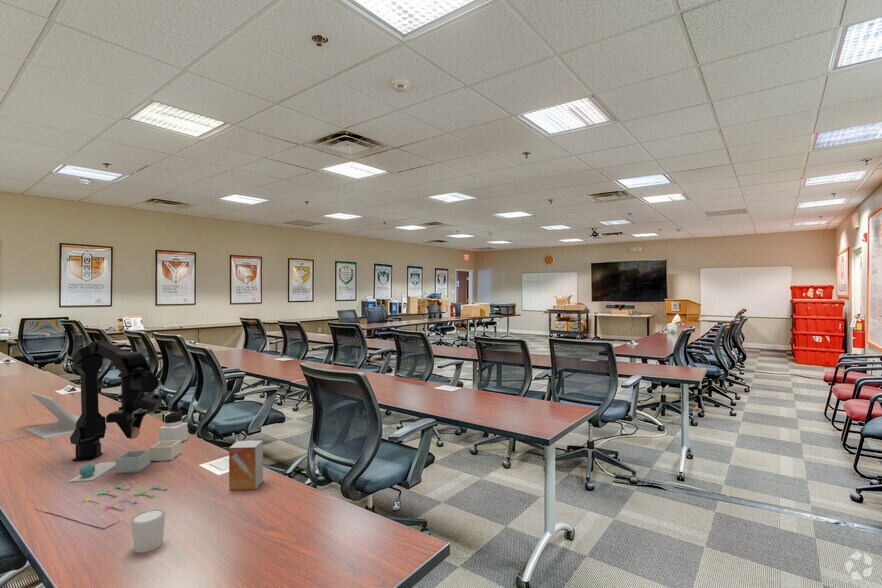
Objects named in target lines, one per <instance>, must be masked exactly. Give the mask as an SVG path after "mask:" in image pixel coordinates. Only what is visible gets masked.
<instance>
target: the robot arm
mask: <svg viewBox="0 0 882 588" xmlns="http://www.w3.org/2000/svg"><path fill="white" fill-rule="evenodd" d="M105 359H107V360H109V361H111V362H112V363H114V367H115V369H117V370H118V371H119V372H120V373H119V374H118V375H117V377H118V378H120V382H121V383H120V387H121V389H120V390H121V391H120V392H121V394H118V399H121V406H119V407H118V410H115V411H112V412H110V413H108V414H106V416H104V415H102V414H101V413H100V411H99V409H100V408H99V406H100V405H99V379H98V373H99V372H100V370H101V368H102V367H103V364H104V360H105ZM72 362H73V367H74V369H75V370H76V372H77V373H79V375H80V376H79V377H80V400H81V401H80V404H81V414H80V417H79V419H78V420H77V422H76V429H75V430H74V432H73V433H71V435H70V437H69V440H70V444H71V445H75V457H74V458H73V459H72V462H75V461H76V462H77V461H91V460H93V459H96V458H98V457H99V456H101V455H102V454H104V453H103V451H102V443H101V441H100V440H101V439H104V438H105V436H106V430H107V424H108V423H109V424H111V423H115V424H116V425H117V426H118V427H119V428H120V430H121V431H122V433H123V434H124V436H125V437H126V438H127V439H129V438H131V435H132V427H137V428H139V430H140V429H141V426H142V423H143V420H144V417H145V416H147V415H148V414H149V413H153V412H155V411H157V410H159V407H160V405H161V404H163V399H162V394H158V393H157V394H154V395H152V396H150V395H149V396H146V393H153V392H155V391H156V390H157V388H158V387H159V385H160V380H159V379H158V377H157V376H156V375H153V371H152V369H151V366H150V364H149V363H148V360H147V359H146V357H145V355H144V354H143V353H141V352H137V351H127V350H125V349H122V348H120V347H118V346H116V345H115V344H112V343H110V341H108V340H95V341H93V342H91V343H89V344H88V345H86V346H84V347H82V348H79V349H77V351H76V352H75V353H74V354H73V355H72ZM140 431H141V430H140Z"/></svg>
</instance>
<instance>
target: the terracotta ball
mask: <svg viewBox="0 0 882 588" xmlns="http://www.w3.org/2000/svg"><path fill="white" fill-rule="evenodd" d="M140 434H141V430H139V428H137V427H132V435H131V438H128V440H134V439H136V438H138V437H139V435H140Z"/></svg>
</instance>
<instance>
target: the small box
mask: <svg viewBox="0 0 882 588" xmlns="http://www.w3.org/2000/svg"><path fill="white" fill-rule="evenodd" d="M263 443H264V441H263V440H262V439H261V440H237V441H235V442H234V443H233V444H232V445H231V446H229V448H228V484H229V485H228V488H229V491H235V490H236V491H237V490H257V488H258V487H259V486H260V485H261V484H262V482H263V481H264V444H263Z"/></svg>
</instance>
